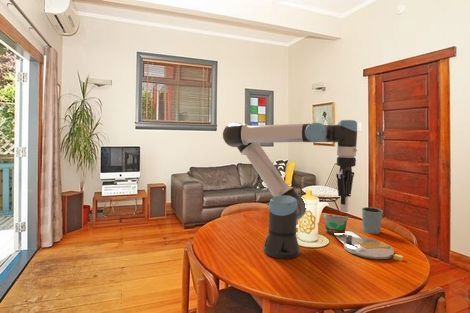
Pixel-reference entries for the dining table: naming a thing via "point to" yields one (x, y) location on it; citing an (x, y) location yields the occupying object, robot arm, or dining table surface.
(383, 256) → the grey plate
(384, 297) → the dining table surface
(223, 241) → the dining table surface
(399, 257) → the index pointer
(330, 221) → the food container
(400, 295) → the dining table surface
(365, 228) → the grey cup
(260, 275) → the dining table surface
